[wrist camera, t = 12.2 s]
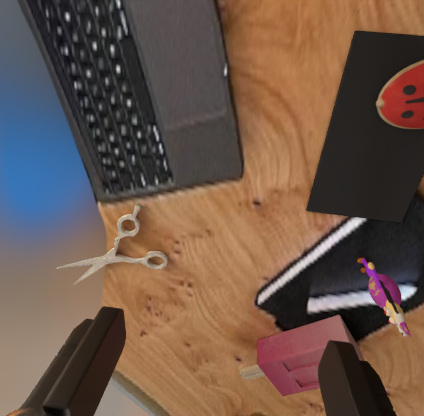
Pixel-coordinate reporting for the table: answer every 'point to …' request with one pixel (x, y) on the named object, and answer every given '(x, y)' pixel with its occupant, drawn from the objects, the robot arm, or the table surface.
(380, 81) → the desk pad
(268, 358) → the popsicle
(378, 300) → the wizard figurine
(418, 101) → the ladybug figurine
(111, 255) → the scissors
